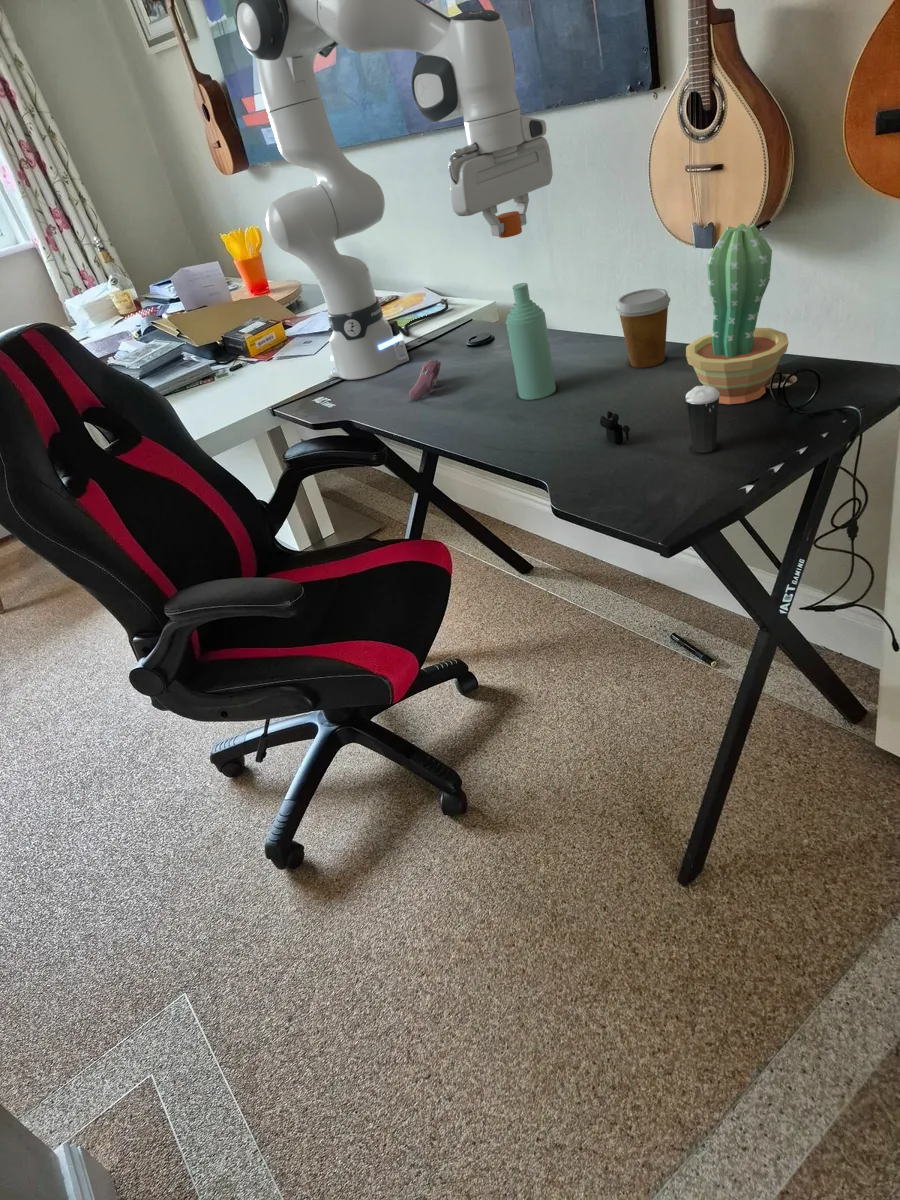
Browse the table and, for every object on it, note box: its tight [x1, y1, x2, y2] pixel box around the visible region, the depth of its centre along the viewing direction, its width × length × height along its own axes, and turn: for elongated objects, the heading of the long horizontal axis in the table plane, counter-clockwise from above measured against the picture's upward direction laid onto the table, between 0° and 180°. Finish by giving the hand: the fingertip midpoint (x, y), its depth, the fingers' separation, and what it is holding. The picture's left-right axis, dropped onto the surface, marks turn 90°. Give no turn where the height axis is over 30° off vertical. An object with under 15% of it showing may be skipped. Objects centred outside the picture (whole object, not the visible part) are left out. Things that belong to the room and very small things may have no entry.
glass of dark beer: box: [679, 384, 720, 454], centre depth 110 cm, size 4×5×10 cm
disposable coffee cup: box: [615, 288, 671, 369], centre depth 142 cm, size 10×10×12 cm
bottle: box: [505, 282, 557, 401], centre depth 140 cm, size 7×7×20 cm
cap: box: [496, 210, 523, 239], centre depth 129 cm, size 4×4×3 cm
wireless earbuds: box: [599, 410, 631, 445], centre depth 119 cm, size 7×2×5 cm, turn 28°
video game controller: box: [408, 359, 442, 401], centre depth 157 cm, size 10×5×7 cm, turn 168°
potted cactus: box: [685, 223, 790, 405], centre depth 119 cm, size 15×15×25 cm
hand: (509, 230), depth 130 cm, fingers closed on cap, 4 cm apart
